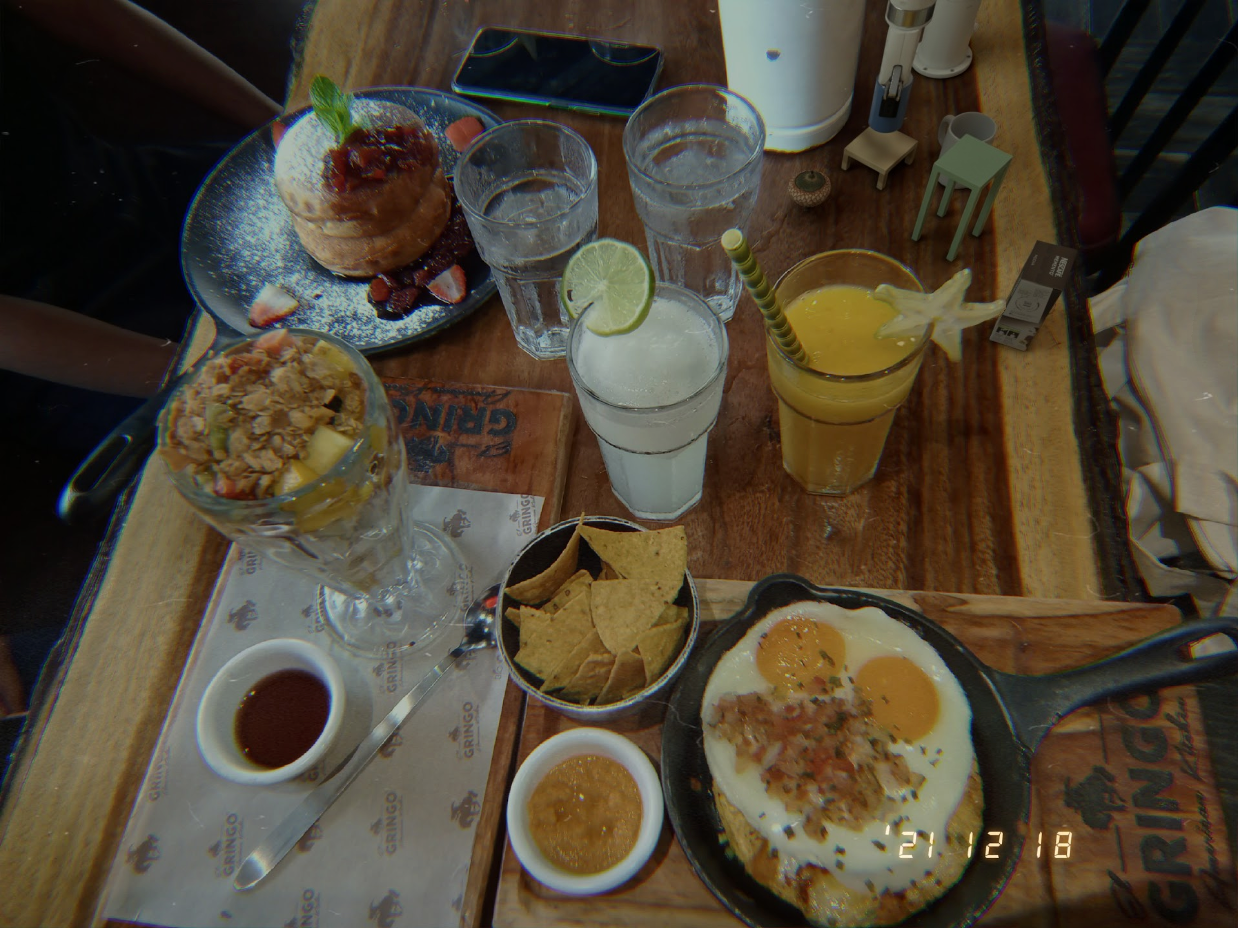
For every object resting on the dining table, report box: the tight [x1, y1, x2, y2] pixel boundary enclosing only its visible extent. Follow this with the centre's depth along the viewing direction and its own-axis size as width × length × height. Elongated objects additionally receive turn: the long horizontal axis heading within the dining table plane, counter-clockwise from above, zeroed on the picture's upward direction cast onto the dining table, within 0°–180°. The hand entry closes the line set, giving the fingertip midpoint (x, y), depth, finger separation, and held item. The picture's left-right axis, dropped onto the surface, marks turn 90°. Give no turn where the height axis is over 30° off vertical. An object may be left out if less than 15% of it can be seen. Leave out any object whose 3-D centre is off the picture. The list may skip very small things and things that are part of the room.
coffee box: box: [989, 239, 1079, 352], centre depth 121 cm, size 9×6×16 cm
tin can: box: [868, 72, 915, 133], centre depth 136 cm, size 6×6×9 cm
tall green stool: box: [911, 134, 1014, 262], centre depth 131 cm, size 9×9×18 cm
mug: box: [937, 111, 998, 190], centre depth 141 cm, size 12×8×11 cm
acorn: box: [787, 169, 832, 212], centre depth 142 cm, size 8×8×10 cm
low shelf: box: [840, 125, 919, 191], centre depth 147 cm, size 10×10×5 cm
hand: (890, 102), depth 136 cm, fingers closed on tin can, 6 cm apart
